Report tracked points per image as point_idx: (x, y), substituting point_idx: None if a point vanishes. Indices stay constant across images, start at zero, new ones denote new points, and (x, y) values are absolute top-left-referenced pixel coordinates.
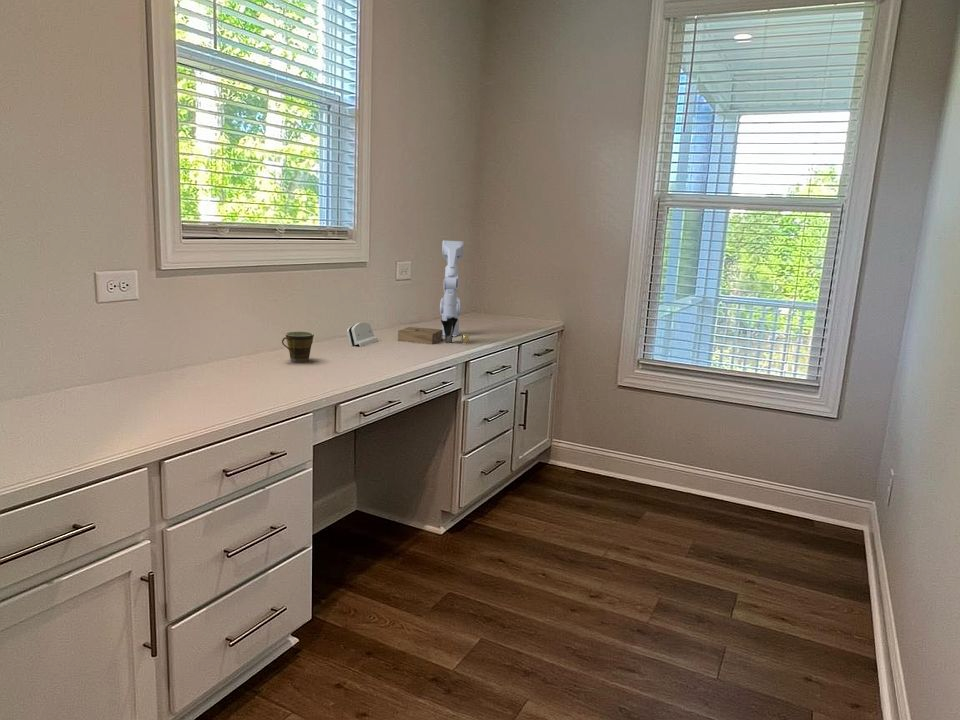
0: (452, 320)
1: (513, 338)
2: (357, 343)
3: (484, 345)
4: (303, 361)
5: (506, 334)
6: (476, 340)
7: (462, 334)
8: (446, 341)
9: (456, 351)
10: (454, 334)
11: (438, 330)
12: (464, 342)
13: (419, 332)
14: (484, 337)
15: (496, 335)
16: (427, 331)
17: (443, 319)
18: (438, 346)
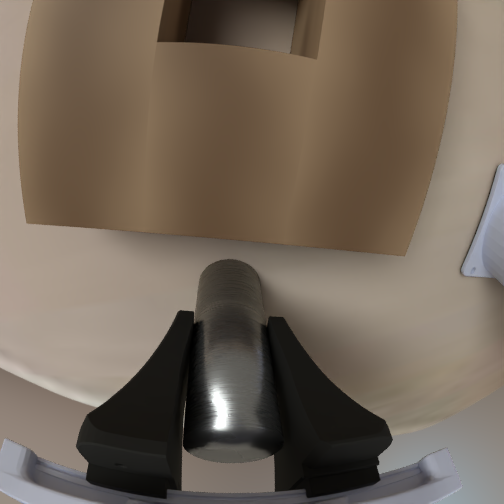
0: (286, 473)
1: (415, 430)
2: None
3: None
4: None
5: (480, 393)
6: (366, 383)
7: None
8: (199, 282)
9: (13, 350)
10: (486, 269)
11: (337, 223)
12: None
13: (46, 40)
14: (441, 377)
15: (471, 384)
16: (174, 95)
17: (9, 457)
18: (41, 252)
